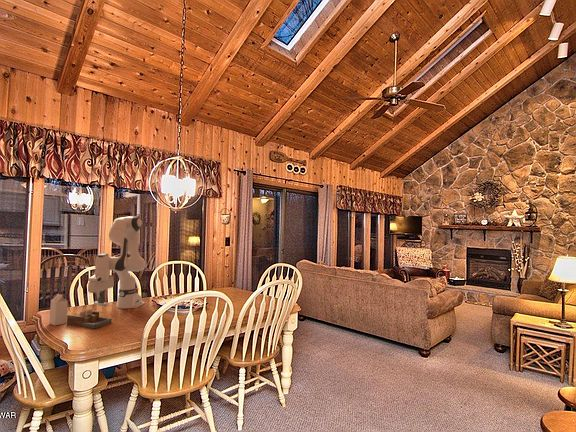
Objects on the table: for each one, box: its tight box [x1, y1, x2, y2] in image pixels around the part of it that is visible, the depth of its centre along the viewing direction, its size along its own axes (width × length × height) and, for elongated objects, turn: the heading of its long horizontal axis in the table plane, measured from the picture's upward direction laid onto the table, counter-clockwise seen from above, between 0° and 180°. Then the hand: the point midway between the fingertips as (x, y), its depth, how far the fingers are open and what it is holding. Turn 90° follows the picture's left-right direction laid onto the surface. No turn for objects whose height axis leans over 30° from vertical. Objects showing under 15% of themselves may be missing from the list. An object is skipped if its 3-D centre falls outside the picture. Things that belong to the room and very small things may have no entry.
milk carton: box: [49, 293, 69, 326], centre depth 226 cm, size 7×7×19 cm
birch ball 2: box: [86, 308, 94, 315], centre depth 230 cm, size 4×4×4 cm
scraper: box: [93, 290, 109, 307], centre depth 241 cm, size 10×3×10 cm, turn 76°
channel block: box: [66, 309, 100, 328], centre depth 228 cm, size 14×12×6 cm
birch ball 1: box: [79, 310, 87, 317], centre depth 225 cm, size 4×4×4 cm
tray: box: [81, 316, 112, 330], centre depth 225 cm, size 14×10×3 cm
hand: (101, 296), depth 241 cm, fingers closed on scraper, 3 cm apart
